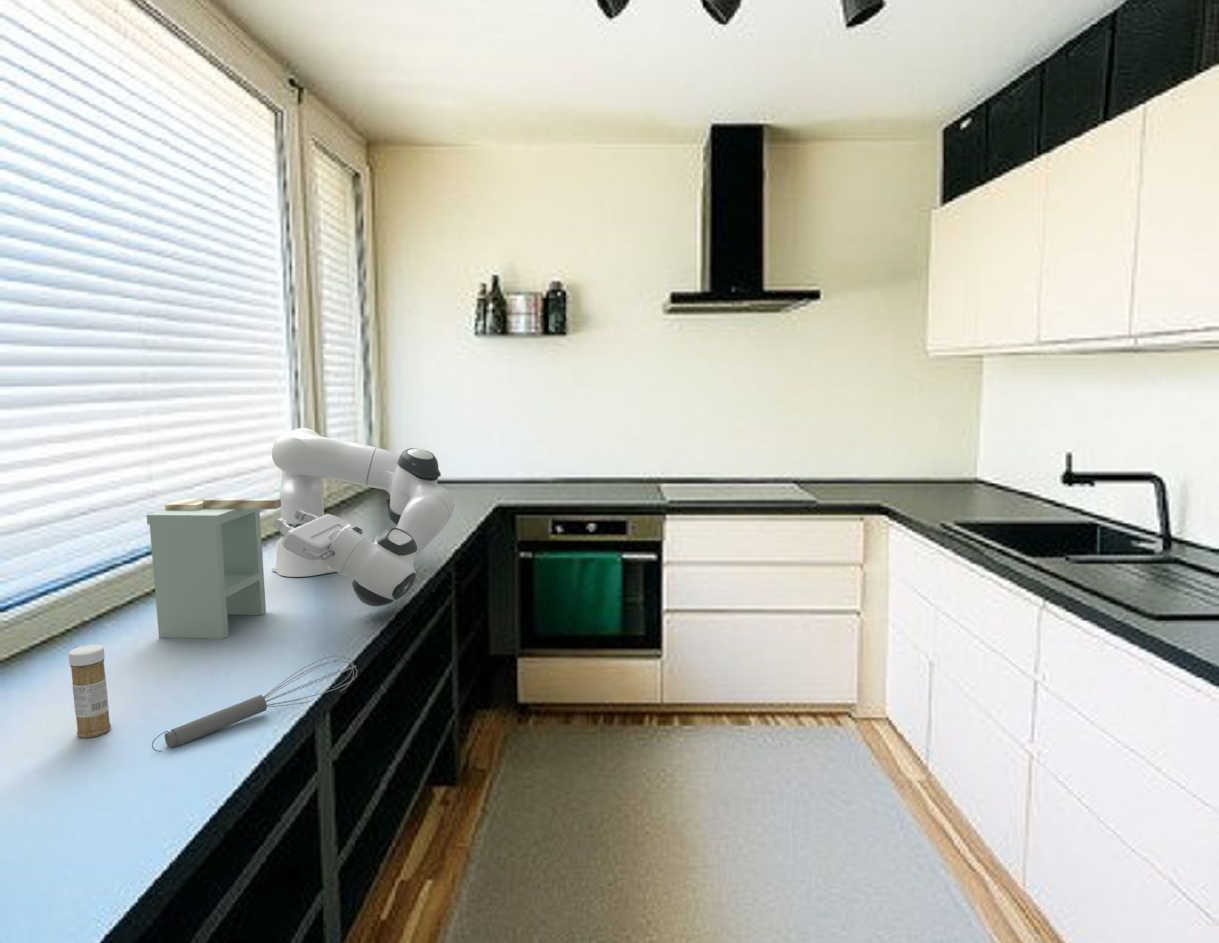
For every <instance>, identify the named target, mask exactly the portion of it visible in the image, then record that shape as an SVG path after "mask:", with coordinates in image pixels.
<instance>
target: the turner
mask: <svg viewBox="0 0 1219 943" xmlns="http://www.w3.org/2000/svg"><path fill="white" fill-rule="evenodd" d="M280 507H281V499H280V498H239V497H237V498H229V497H228V498H218V497H215V498H214V497H213V498H212V497H211V498H200V499H199V498H186V499H185V498H184V499H180V500H176V501H173V502H170V503H169V502H168V503H166V504H164V510H200V509H203V508H208V509H262V510H277V509H279V508H280ZM280 509H281V508H280Z"/></svg>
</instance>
